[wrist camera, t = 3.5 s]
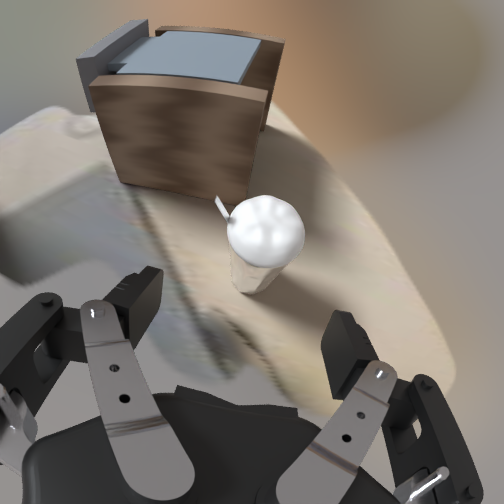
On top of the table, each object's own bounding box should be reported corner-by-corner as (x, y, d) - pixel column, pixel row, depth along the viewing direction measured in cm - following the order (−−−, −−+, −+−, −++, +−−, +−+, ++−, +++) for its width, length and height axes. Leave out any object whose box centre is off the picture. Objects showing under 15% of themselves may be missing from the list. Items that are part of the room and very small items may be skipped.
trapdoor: (89, 113, 19) (74, 60, 14) (136, 64, 23) (132, 19, 18) (232, 129, 20) (240, 62, 14) (254, 76, 24) (263, 26, 18)
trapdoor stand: (120, 182, 25) (88, 85, 15) (166, 107, 31) (161, 26, 20) (243, 207, 26) (264, 102, 15) (265, 123, 31) (285, 39, 21)
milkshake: (220, 243, 24) (226, 166, 15) (280, 258, 24) (318, 190, 15) (206, 292, 22) (202, 235, 13) (271, 308, 22) (311, 262, 13)
